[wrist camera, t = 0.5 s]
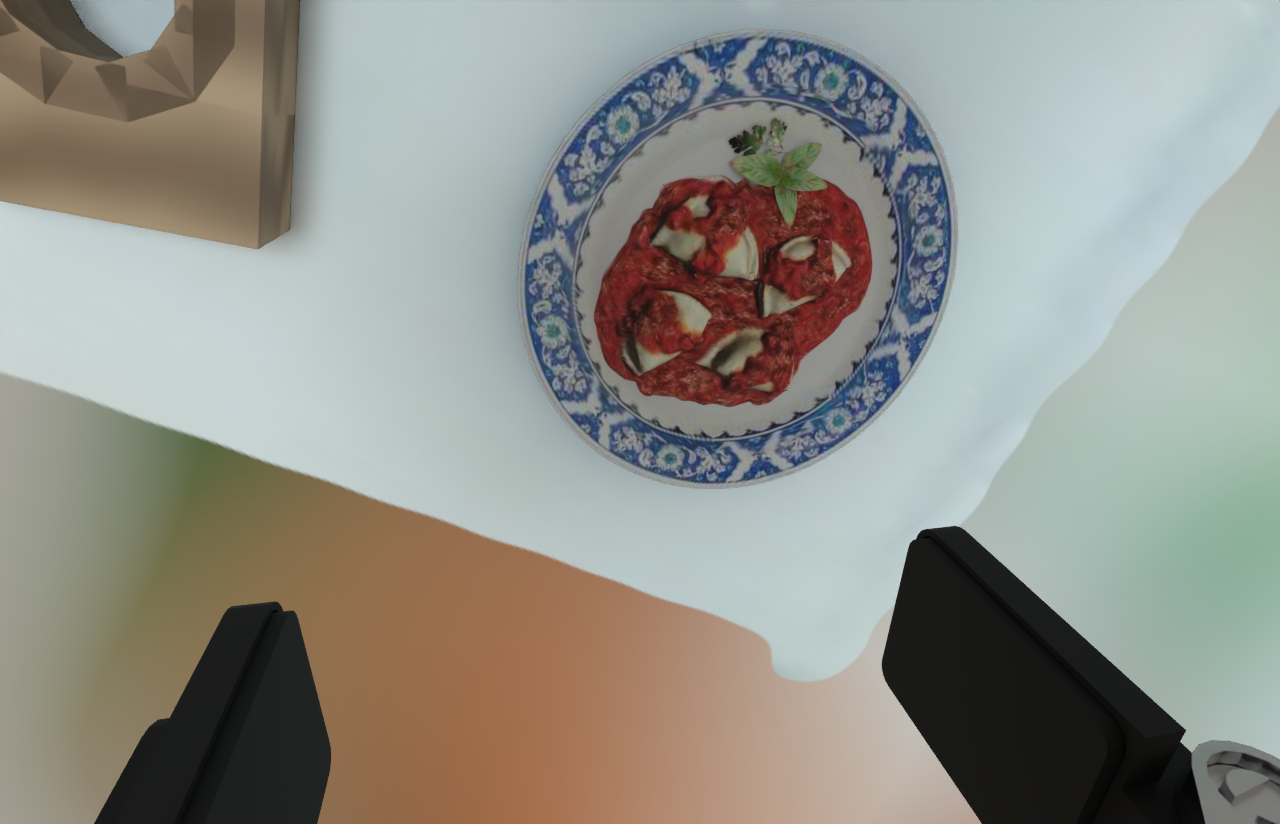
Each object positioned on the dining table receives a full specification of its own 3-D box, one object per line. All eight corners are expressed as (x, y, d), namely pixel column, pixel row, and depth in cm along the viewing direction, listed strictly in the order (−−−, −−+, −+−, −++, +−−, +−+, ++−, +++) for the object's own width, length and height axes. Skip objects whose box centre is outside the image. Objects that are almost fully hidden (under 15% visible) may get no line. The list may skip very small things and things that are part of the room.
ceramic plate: (791, 519, 47) (809, 543, 45) (444, 387, 38) (440, 408, 35) (1015, 183, 40) (1052, 188, 37) (652, -82, 31) (668, -99, 28)
